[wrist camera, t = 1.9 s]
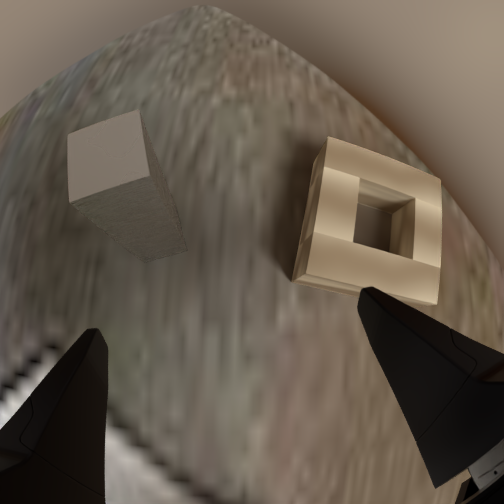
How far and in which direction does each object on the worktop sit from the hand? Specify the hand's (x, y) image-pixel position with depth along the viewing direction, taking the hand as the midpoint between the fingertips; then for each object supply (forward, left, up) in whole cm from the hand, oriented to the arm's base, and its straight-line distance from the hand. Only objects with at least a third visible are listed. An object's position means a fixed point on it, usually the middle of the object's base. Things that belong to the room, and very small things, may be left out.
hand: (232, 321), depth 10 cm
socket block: (+12, -6, -14) cm, 19 cm away
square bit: (+3, +8, -14) cm, 16 cm away
